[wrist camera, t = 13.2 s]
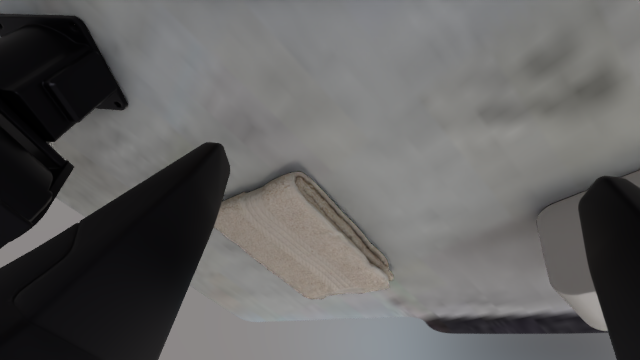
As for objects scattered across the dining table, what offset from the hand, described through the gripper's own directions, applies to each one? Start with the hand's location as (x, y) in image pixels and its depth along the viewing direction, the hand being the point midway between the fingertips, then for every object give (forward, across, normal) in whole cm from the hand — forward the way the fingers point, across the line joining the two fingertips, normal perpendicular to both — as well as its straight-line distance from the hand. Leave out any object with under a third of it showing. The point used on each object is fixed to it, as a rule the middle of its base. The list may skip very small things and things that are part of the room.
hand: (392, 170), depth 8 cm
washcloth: (+12, +6, +22) cm, 26 cm away
